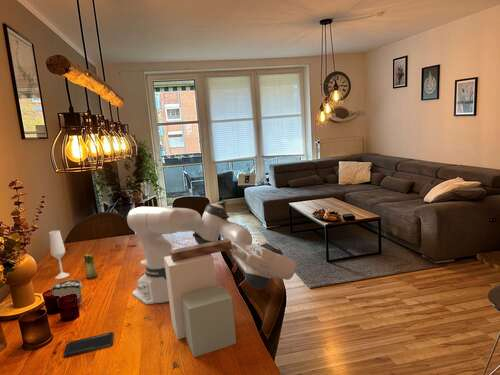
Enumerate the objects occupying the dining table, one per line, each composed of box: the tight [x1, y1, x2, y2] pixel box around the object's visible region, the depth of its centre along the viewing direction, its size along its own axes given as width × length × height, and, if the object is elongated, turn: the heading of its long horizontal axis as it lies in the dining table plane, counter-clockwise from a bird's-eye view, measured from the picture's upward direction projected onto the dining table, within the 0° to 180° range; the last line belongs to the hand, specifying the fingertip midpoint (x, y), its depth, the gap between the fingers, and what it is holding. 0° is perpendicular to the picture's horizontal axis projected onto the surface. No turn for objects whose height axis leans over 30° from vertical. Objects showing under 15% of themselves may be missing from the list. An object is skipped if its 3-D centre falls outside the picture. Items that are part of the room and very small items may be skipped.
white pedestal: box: [164, 254, 217, 340], centre depth 122 cm, size 15×10×26 cm, turn 113°
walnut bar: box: [170, 239, 232, 262], centre depth 122 cm, size 21×4×3 cm, turn 113°
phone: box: [63, 331, 115, 358], centre depth 118 cm, size 8×1×15 cm
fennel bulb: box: [83, 254, 98, 279], centre depth 176 cm, size 6×5×12 cm
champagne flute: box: [48, 230, 70, 280], centre depth 179 cm, size 7×7×24 cm
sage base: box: [181, 285, 237, 358], centre depth 113 cm, size 14×10×16 cm
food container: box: [50, 279, 83, 308], centre depth 148 cm, size 12×6×10 cm, turn 92°
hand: (227, 247), depth 125 cm, fingers open, 8 cm apart
